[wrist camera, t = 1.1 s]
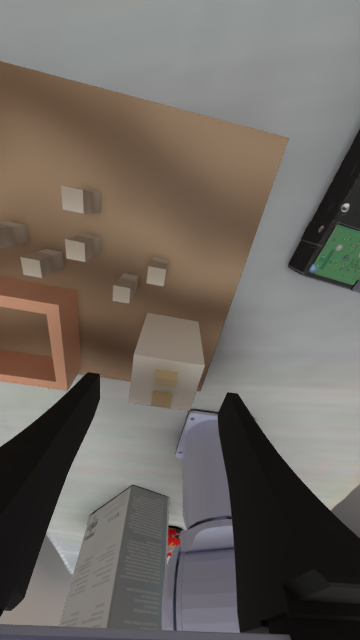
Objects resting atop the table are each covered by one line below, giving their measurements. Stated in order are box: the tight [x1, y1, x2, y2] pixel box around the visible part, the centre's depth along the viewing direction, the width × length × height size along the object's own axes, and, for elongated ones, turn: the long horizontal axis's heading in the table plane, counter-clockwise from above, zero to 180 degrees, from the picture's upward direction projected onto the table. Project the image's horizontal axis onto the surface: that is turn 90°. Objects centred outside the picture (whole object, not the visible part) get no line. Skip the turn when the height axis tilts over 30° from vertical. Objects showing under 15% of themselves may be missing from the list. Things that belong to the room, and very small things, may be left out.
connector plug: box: [129, 313, 205, 411], centre depth 14 cm, size 4×4×6 cm
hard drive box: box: [59, 486, 169, 630], centre depth 27 cm, size 16×8×20 cm, turn 143°
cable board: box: [0, 61, 289, 391], centre depth 14 cm, size 19×20×4 cm
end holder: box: [0, 277, 81, 391], centre depth 15 cm, size 8×8×2 cm
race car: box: [167, 527, 182, 557], centre depth 41 cm, size 13×5×4 cm, turn 131°
